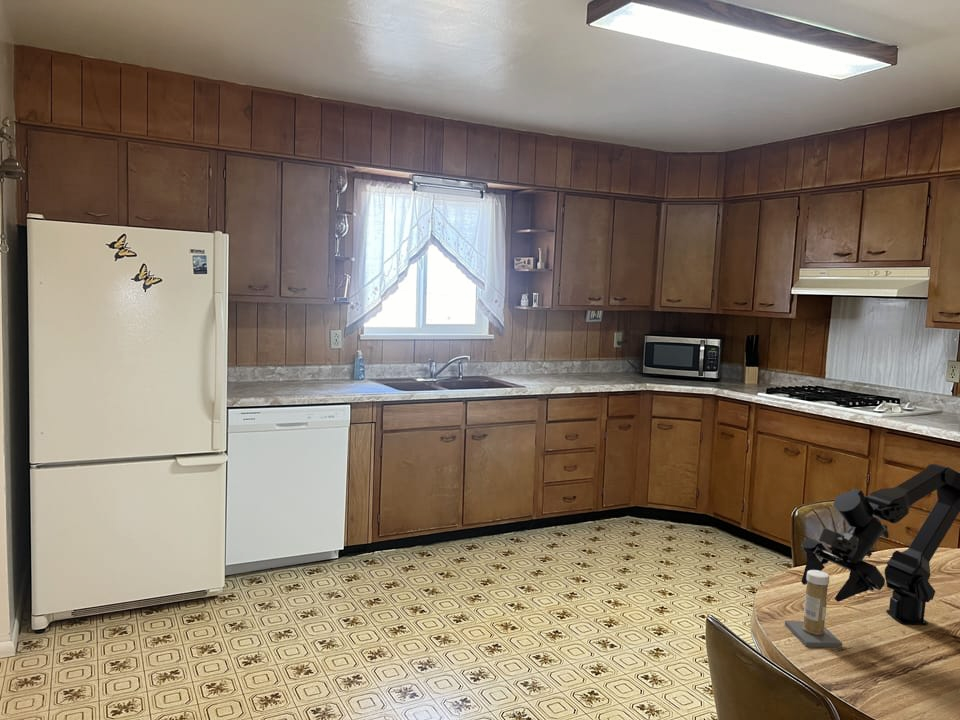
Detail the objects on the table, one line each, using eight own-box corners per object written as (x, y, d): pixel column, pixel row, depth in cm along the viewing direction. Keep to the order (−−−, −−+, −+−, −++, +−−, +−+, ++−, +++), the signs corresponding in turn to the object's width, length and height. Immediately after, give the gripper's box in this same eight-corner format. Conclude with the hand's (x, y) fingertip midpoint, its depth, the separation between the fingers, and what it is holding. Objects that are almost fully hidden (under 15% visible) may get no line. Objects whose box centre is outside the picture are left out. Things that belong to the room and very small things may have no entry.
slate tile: (818, 625, 165) (819, 621, 165) (841, 647, 155) (842, 643, 155) (784, 624, 165) (785, 620, 165) (805, 646, 155) (806, 642, 155)
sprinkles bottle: (828, 634, 159) (834, 576, 158) (812, 636, 158) (817, 577, 156) (813, 625, 163) (819, 568, 162) (797, 627, 162) (802, 569, 161)
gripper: (810, 504, 168) (770, 554, 165) (880, 530, 151) (837, 587, 148) (832, 533, 172) (793, 583, 169) (903, 562, 155) (861, 618, 152)
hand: (819, 591), depth 159 cm, fingers open, 9 cm apart
